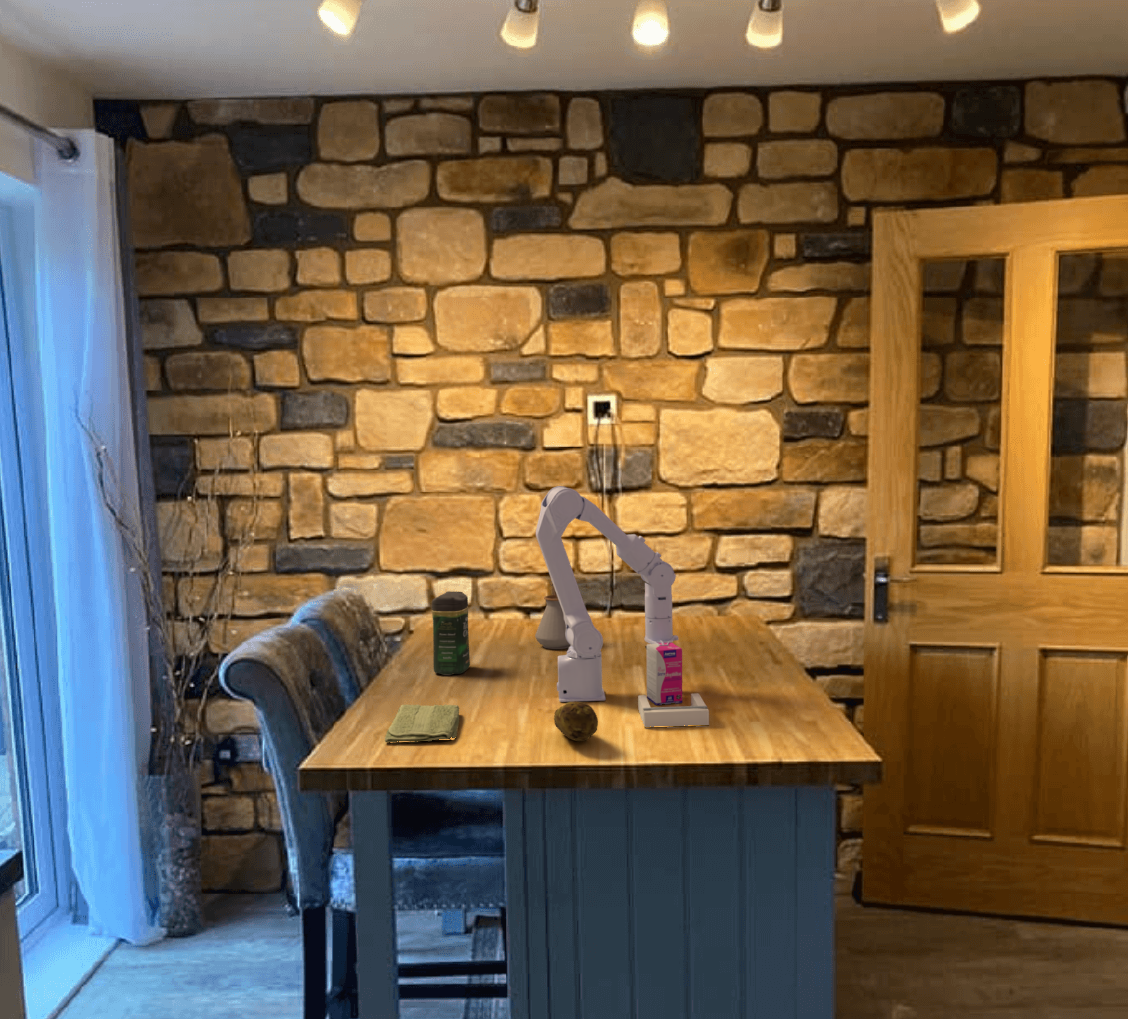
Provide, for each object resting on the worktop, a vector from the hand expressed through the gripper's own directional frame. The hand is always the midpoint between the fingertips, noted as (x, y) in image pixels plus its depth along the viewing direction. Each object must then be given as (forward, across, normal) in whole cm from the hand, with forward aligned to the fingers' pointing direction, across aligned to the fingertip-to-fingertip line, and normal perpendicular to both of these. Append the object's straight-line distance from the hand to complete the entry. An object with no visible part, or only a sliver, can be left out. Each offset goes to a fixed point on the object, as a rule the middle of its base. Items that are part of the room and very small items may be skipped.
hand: (659, 679), depth 198 cm
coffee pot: (+3, +50, +21) cm, 54 cm away
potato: (+3, -30, +19) cm, 36 cm away
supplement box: (+3, -7, 0) cm, 8 cm away
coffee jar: (+3, +23, +46) cm, 51 cm away
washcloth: (+3, -20, +47) cm, 51 cm away
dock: (+2, -18, 0) cm, 19 cm away
